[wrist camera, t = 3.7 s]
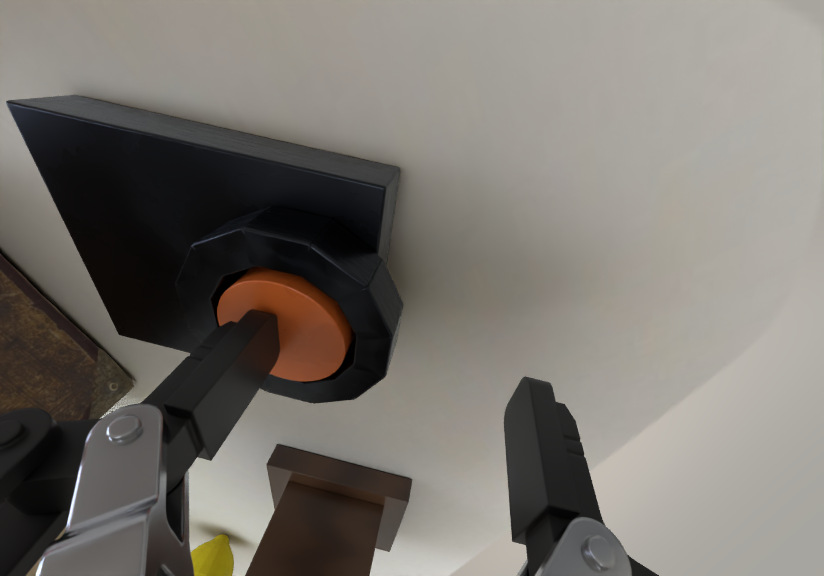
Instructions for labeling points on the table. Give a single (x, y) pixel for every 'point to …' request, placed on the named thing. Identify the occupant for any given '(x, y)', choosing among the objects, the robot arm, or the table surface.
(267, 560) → the pedestal
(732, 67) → the table surface
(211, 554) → the fruit
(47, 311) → the book
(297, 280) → the button
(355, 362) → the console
